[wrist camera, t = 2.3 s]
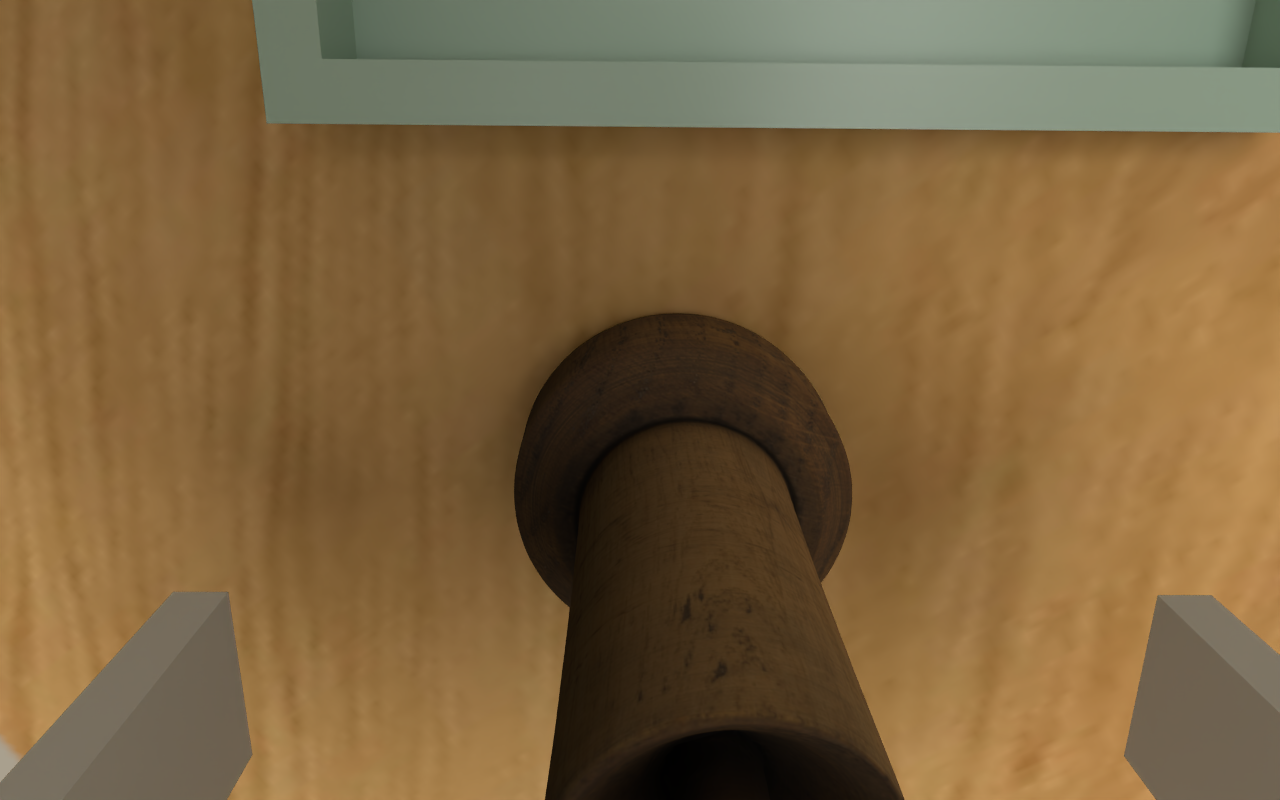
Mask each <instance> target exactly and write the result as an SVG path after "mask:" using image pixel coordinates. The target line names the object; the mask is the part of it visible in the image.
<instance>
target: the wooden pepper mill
mask: <svg viewBox="0 0 1280 800" xmlns="http://www.w3.org/2000/svg"><path fill="white" fill-rule="evenodd" d="M514 500H515V510H516V517H517V523H518V527H519V531H520V534H521V538H522V541H523V543H524V546H525V549H526V551H527V553H528V556H529V558H530V560H531V561H532V563H533V565H534V567H535V568H536V570H537V572H538V573H539V574H540V576H541V577H542V579H543V580H544V581H545V583H546V584H547V585H548V586H549V588H550V589H551V590H552V591H553V592H554V593H555V594H556V595H557V596H558V597H559V598H560V599H561V600H562V601H563V602H564V603H565V604H566V605H568V606H569V607H570V612H569V621H568V629H567V637H566V645H565V654H564V662H563V669H562V678H561V686H560V694H559V702H558V709H557V718H556V726H555V733H554V741H553V748H552V755H551V761H550V769H549V775H548V783H547V789H546V797H545V800H904V797H903V795H902V792H901V789H900V786H899V784H898V781H897V779H896V776H895V773H894V771H893V769H892V766H891V763H890V761H889V758H888V756H887V753H886V751H885V748H884V746H883V743H882V741H881V738H880V736H879V733H878V731H877V728H876V726H875V723H874V720H873V718H872V715H871V713H870V710H869V708H868V705H867V703H866V700H865V698H864V695H863V693H862V690H861V688H860V685H859V682H858V680H857V677H856V675H855V672H854V670H853V667H852V665H851V662H850V659H849V657H848V654H847V651H846V649H845V646H844V643H843V641H842V638H841V636H840V633H839V631H838V628H837V625H836V623H835V620H834V617H833V615H832V612H831V609H830V607H829V604H828V602H827V599H826V596H825V594H824V591H823V588H822V586H821V582H822V581H823V579H824V578H825V576H826V575H827V574H828V572H829V571H830V569H831V567H832V566H833V564H834V562H835V560H836V558H837V556H838V554H839V552H840V550H841V547H842V545H843V542H844V539H845V537H846V533H847V530H848V526H849V521H850V515H851V505H852V482H851V474H850V468H849V463H848V459H847V455H846V452H845V449H844V446H843V443H842V441H841V438H840V436H839V434H838V432H837V430H836V427H835V425H834V424H833V422H832V420H831V418H830V417H829V415H828V413H827V410H826V408H825V406H824V404H823V402H822V401H821V399H820V397H819V395H818V394H817V392H816V391H815V389H814V387H813V386H812V384H811V383H810V382H809V380H808V379H807V378H806V376H805V375H804V374H803V373H802V371H801V370H800V369H799V368H798V367H797V366H796V365H795V364H794V363H793V362H792V361H791V360H790V359H789V358H788V357H787V356H786V355H785V354H784V353H782V352H781V351H780V350H779V349H778V348H776V347H775V346H774V345H772V344H771V343H769V342H768V341H766V340H765V339H763V338H762V337H760V336H759V335H757V334H755V333H753V332H751V331H749V330H747V329H745V328H742V327H740V326H738V325H735V324H733V323H730V322H727V321H723V320H720V319H716V318H712V317H707V316H701V315H693V314H662V315H654V316H648V317H643V318H639V319H635V320H631V321H628V322H625V323H622V324H619V325H617V326H614V327H612V328H610V329H608V330H606V331H604V332H602V333H600V334H598V335H596V336H594V337H593V338H591V339H590V340H588V341H587V342H586V343H584V344H583V345H581V346H580V347H578V348H577V349H576V350H575V351H573V352H572V353H571V354H570V355H569V356H568V357H567V358H566V359H565V360H564V361H563V362H562V363H561V364H560V365H559V366H558V367H557V369H556V370H555V371H554V372H553V373H552V375H551V376H550V377H549V379H548V380H547V381H546V383H545V384H544V386H543V388H542V389H541V391H540V393H539V395H538V396H537V398H536V400H535V402H534V405H533V407H532V410H531V412H530V415H529V418H528V421H527V424H526V428H525V432H524V436H523V440H522V443H521V447H520V451H519V455H518V460H517V465H516V472H515V483H514Z"/></svg>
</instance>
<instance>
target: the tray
mask: <svg viewBox="0 0 1280 800" xmlns="http://www.w3.org/2000/svg"><path fill="white" fill-rule="evenodd" d="M252 3H253V12H254V20H255V29H256V37H257V45H258V54H259V62H260V71H261V79H262V88H263V96H264V105H265V113H266V121H267V123H280V124H391V125H502V126H613V127H724V128H835V129H946V130H1057V131H1168V132H1279V133H1280V0H252Z"/></svg>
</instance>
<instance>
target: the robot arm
mask: <svg viewBox="0 0 1280 800" xmlns="http://www.w3.org/2000/svg"><path fill="white" fill-rule="evenodd" d="M251 756H252V749H251V742H250V735H249V729H248V722H247V715H246V708H245V702H244V695H243V688H242V682H241V675H240V668H239V661H238V655H237V648H236V641H235V635H234V628H233V621H232V614H231V608H230V601H229V594H228V592H173V593H172V594H171V595H170V596H169V597H168V598H167V599H166V600H165V602H164V603H163V604H162V605H161V606H160V607H159V608H158V609H157V610H156V611H155V613H154V614H153V615H152V616H151V617H150V618H149V619H148V620H147V621H146V622H145V624H144V625H143V626H142V627H141V628H140V629H139V630H138V631H137V632H136V633H135V635H134V636H133V637H132V638H131V639H130V640H129V641H128V642H127V643H126V645H125V646H124V647H123V648H122V649H121V650H120V651H119V652H118V653H117V654H116V656H115V657H114V658H113V659H112V660H111V661H110V662H109V663H108V664H107V665H106V667H105V668H104V669H103V670H102V671H101V672H100V673H99V674H98V675H97V676H96V678H95V679H94V680H93V681H92V682H91V683H90V684H89V685H88V686H87V687H86V689H85V690H84V691H83V692H82V693H81V694H80V695H79V696H78V697H77V698H76V700H75V701H74V702H73V703H72V704H71V705H70V706H69V707H68V708H67V709H66V711H65V712H64V713H63V714H62V715H61V716H60V717H59V718H58V719H57V720H56V722H55V723H54V724H53V725H52V726H51V727H50V728H49V729H48V730H47V732H46V733H45V734H44V735H43V736H42V737H41V738H40V739H39V740H38V741H37V743H36V744H35V745H34V746H33V747H32V748H31V749H30V750H29V751H28V752H27V754H26V755H25V756H24V757H23V758H22V759H21V760H20V761H19V762H18V763H17V765H16V766H15V767H14V768H13V769H12V770H11V771H10V772H9V773H8V774H7V776H6V777H5V778H4V779H3V780H2V781H1V782H0V800H227V798H228V797H229V795H230V793H231V791H232V790H233V788H234V786H235V784H236V783H237V781H238V779H239V777H240V775H241V774H242V772H243V770H244V768H245V767H246V765H247V763H248V761H249V760H250V758H251ZM1124 757H1125V758H1126V759H1127V761H1128V762H1129V763H1130V765H1131V766H1132V767H1133V769H1134V770H1135V772H1136V773H1137V774H1138V776H1139V777H1140V778H1141V780H1142V781H1143V782H1144V784H1145V785H1146V786H1147V788H1148V789H1149V791H1150V792H1151V793H1152V795H1153V796H1154V797H1155V799H1156V800H1280V655H1279V654H1278V653H1276V652H1275V651H1274V650H1273V649H1272V648H1271V647H1270V646H1269V645H1267V644H1266V643H1265V642H1264V641H1263V640H1262V639H1261V638H1259V637H1258V636H1257V635H1256V634H1255V633H1254V632H1253V631H1251V630H1250V629H1249V628H1248V627H1247V626H1246V625H1245V624H1243V623H1242V622H1241V621H1240V620H1239V619H1238V618H1237V617H1235V616H1234V615H1233V614H1232V613H1231V612H1230V611H1229V610H1227V609H1226V608H1225V607H1224V606H1223V605H1222V604H1221V603H1219V602H1218V601H1217V600H1216V599H1215V598H1214V597H1213V596H1212V595H1158V596H1157V601H1156V606H1155V611H1154V616H1153V620H1152V625H1151V630H1150V635H1149V639H1148V644H1147V649H1146V654H1145V658H1144V663H1143V668H1142V673H1141V677H1140V682H1139V687H1138V692H1137V697H1136V701H1135V706H1134V711H1133V716H1132V720H1131V725H1130V730H1129V735H1128V739H1127V744H1126V749H1125V754H1124Z"/></svg>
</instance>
